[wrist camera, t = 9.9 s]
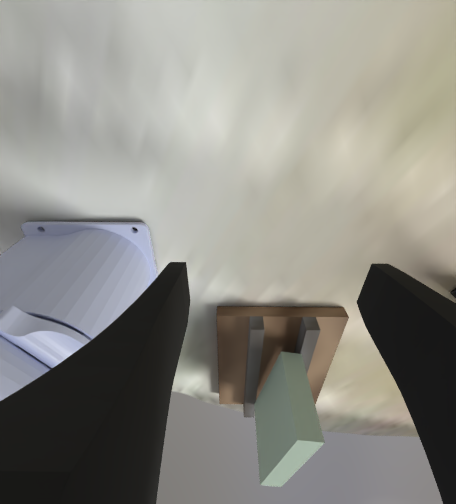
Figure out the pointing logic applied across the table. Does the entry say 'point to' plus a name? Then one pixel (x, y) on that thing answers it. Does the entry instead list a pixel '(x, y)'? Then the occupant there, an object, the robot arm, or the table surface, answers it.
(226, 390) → the track base
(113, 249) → the robot arm
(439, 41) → the table surface
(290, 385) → the grey-green rectangular block
